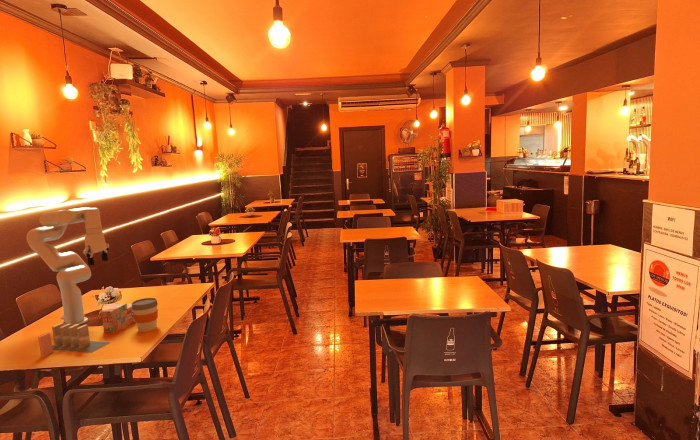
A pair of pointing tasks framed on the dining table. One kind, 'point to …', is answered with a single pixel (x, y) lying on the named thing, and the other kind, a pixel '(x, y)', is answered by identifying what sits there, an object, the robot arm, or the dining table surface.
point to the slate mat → (90, 348)
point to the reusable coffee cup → (145, 314)
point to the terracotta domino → (45, 344)
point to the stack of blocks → (117, 317)
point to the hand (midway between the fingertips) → (98, 262)
